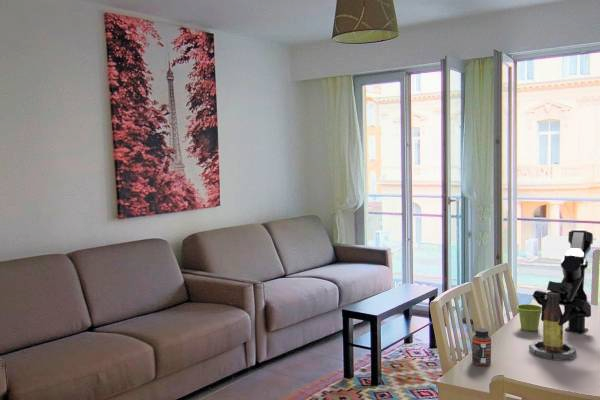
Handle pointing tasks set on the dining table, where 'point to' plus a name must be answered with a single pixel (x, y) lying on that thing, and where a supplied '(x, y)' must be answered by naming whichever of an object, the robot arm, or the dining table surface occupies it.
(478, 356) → the supplement bottle
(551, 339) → the sauce bottle
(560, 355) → the dark grey octagonal tray
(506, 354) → the dining table surface
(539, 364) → the dining table surface
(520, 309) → the plant pot
